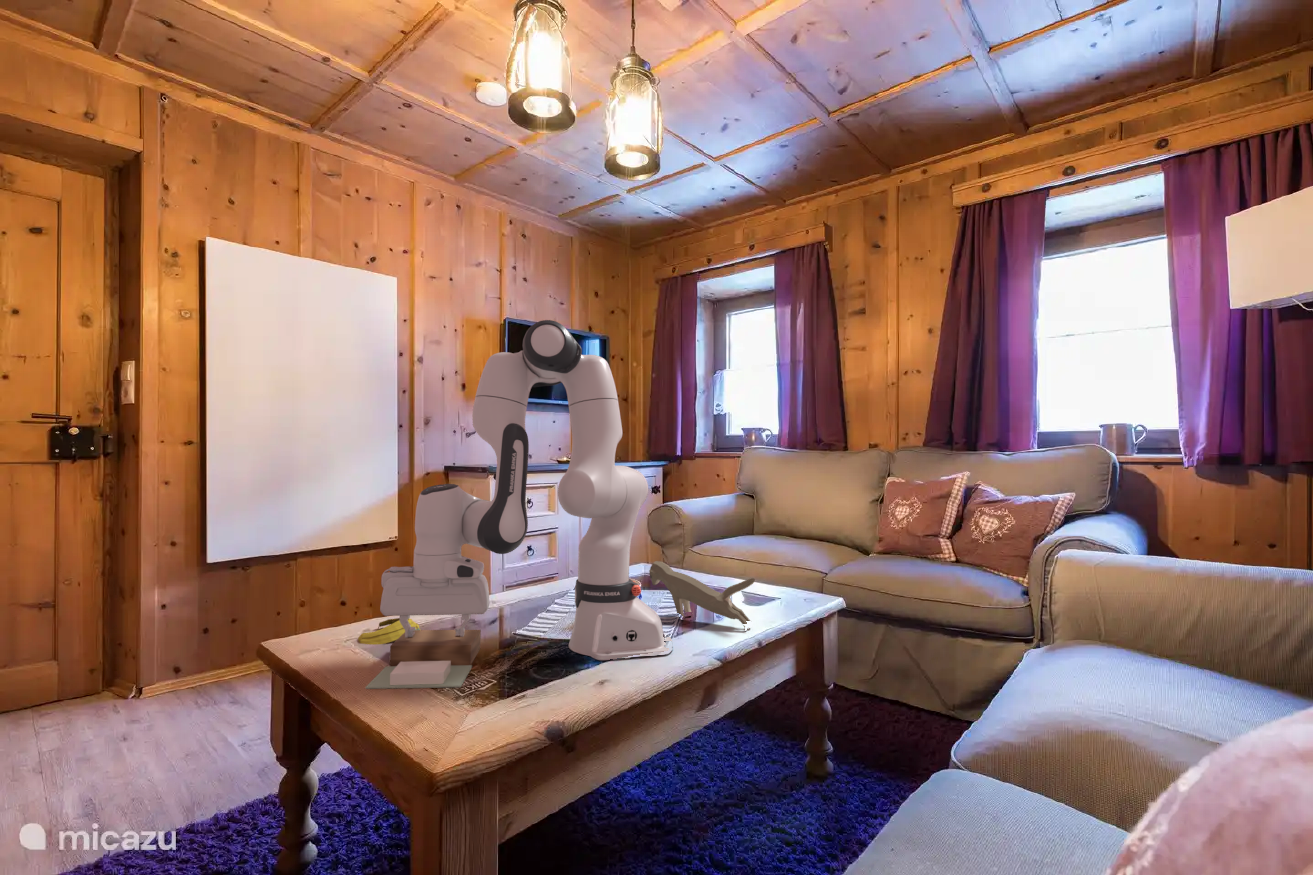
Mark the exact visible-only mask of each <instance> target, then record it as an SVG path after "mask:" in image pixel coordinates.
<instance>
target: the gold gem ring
mask: <svg viewBox="0 0 1313 875" xmlns="http://www.w3.org/2000/svg"><path fill="white" fill-rule="evenodd" d="M399 620H400V617H396V618H390V619H389V618H388V619H386V620H383V621H380V622H379V623H378V626H377V629H376V630H375V631H369V632H363V633H361V634H360V635H359V637H358V639H357V640H358V641H357V642H358V643H359V644H360V645H369V646H371V645H372V646H373V645H385V644H389V643H392V642H395V641H396V640H397V639H398V638H399V637H400V636H401V635H402V634H404V633H405V629H404V628H403V626H402V625H401V623H400V621H399ZM408 622H409V624H410V626H411V627H415V630H421V628H420V625H419V624H418V623H417V622H415V621H414V620H413V619H412V618H411V617H410V618H409V619H408ZM382 627H383V628H382ZM379 628H381V629H379Z"/></svg>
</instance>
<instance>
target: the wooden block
mask: <svg viewBox="0 0 1313 875" xmlns="http://www.w3.org/2000/svg"><path fill="white" fill-rule="evenodd" d="M455 630H456V629H420V630H415V631H414V632H415V636H414V638H405V633H404V634H402V635H401V636H400V637H399V638H398V639H397V640H395V641H393V643H391V644H390V647H389V666H397V665H398V664H399V663H400V662H412V661H451V665H472V664H473V662H474V661H475V658H476V657H477V655H478V653H479V652H480V650H481V638H482V636H481V634H482V633H481V632H482V631H481V629H465V631H464V636H463V637H455V634H456V632H455Z"/></svg>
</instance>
